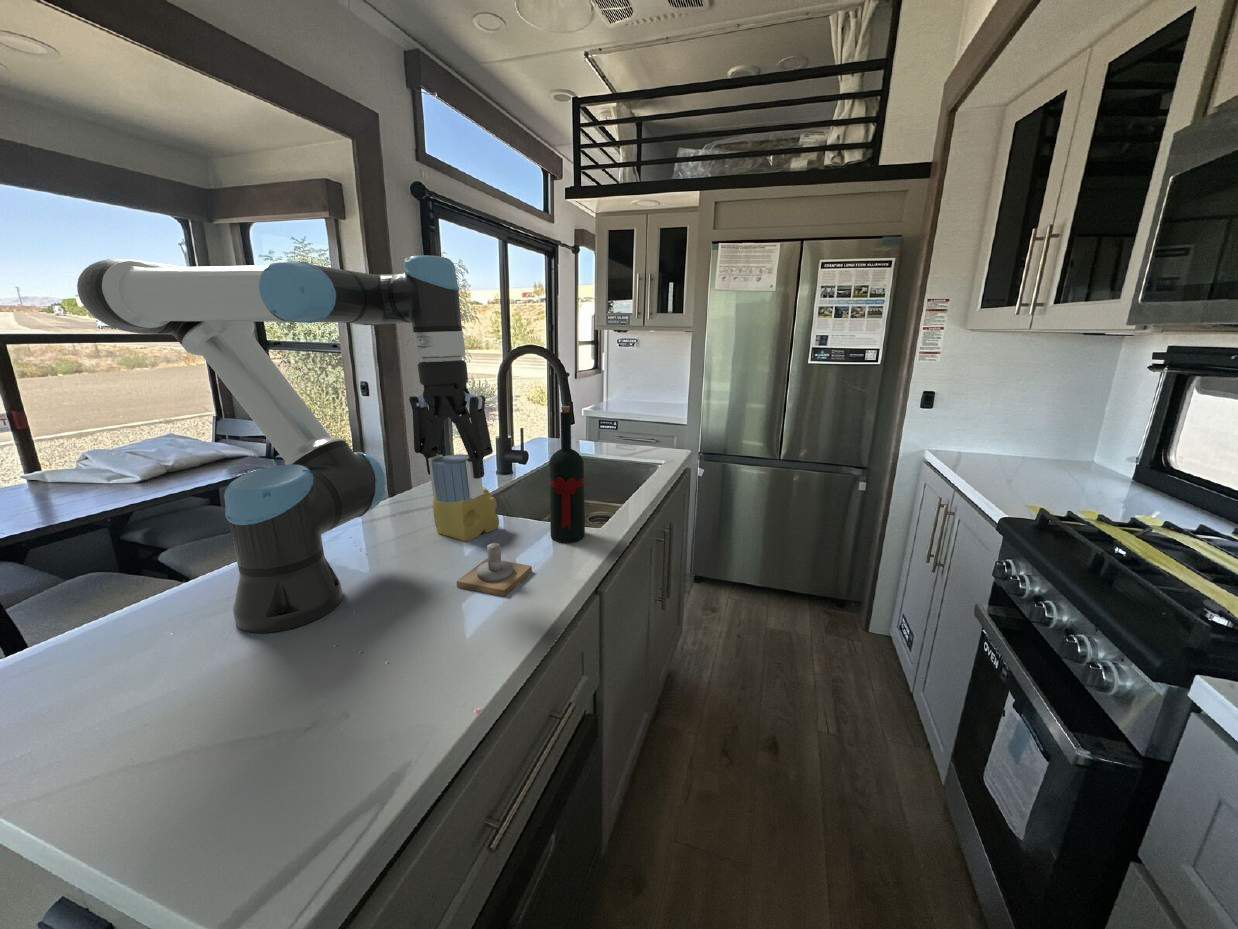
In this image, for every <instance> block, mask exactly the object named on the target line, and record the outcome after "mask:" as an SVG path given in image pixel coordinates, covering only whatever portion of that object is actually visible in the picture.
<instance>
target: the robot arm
mask: <svg viewBox="0 0 1238 929" xmlns="http://www.w3.org/2000/svg"><path fill="white" fill-rule="evenodd" d="M403 264H404V266H403V272H400V273H391V274H390V273H389V274H388V273H387V274H385V273H384V274H383V273H382V274H373V273H367V272H359V271H354V270H353V271H352V270H346V269H341V268H333V267H330V266H329V267H328V266H322V265H316V264H311V263H309V262H306V261H300V260H299V261H298V260H276V261H273V262H271V263H269V264H268V265H267V264H266V265H264V264H263V265H260V264H259V265H230V266H229V265H228V266H227V265H225V266H223V265H220V266H184V265H175V264H168V263H160V262H153V261H147V260H146V261H145V260H138V259H131V258H108V259H103V260H99V261H96V262H94V263H92V264H90V265H88V266H87V267H86V268H85V269H83V270H82V272H81V273H80V274H79V277H78V279H77V285H76V287H77V295H78V297H79V300H80V302H81V303H82V305H83V307H84V308H85V309H86V310H87V311H88V312H89V314H91V315H92V316H93V317H94V318H95V319H97V320H98V321H99V322H101V323H102V324H105V325H107V326H109V327H111V328H113V329H117V330H119V331H123V332H127V333H132V334H138V335H139V334H140V335H172V336H173V337H174V338H175V339H176V340H177V342H178V343H179V344H180V346H182V348H183V349H184V350H185V351H186V352H187V353H188V354H191V355H195V356H201V357H203V359H204V360H205V361H206V363H207V364H208V365H209V366H210V367H211V369H212V370H213V371H214V373H215V374H216V375H217V376H218V378H219V379H220V380H221V381H222V383H223V384H224V386H225V387H226V388H227V389H228V390H229V392H230V393H231V394H232V396H233V397H234V398H235V400H236V401H237V402H238V404H240V406H241V407H242V409H244V411H245V412H246V413H247V414H248V416H249V418H251V420H252V421H253V422H254V424H255V425H256V426H257V428H259V430H260V432H261V433H262V434H263V435H264V437H265V438H266V439H267V440H268V441H269V443H270V445H272V447H273V448H274V449H275V451H277V453H278V454H279V456H281V458H282V459H283V461H284V464H278V465H273V466H271V467H268V468H266V467H265V468H260V469H256V470H253V471H250V472H248V473H246V474H242V475H241V476H239V477H237V478H235V479H234V480H233V481H231V482H230V483H229V484H228V486H226V488H225V490H224V495H223V496H224V504H225V505H224V506H225V510H224V512H225V515H224V516H225V518H226V520H227V521H228V524H229V530H230V535H231V539H232V543H233V544H232V545H233V549H234V553H235V559H236V563H237V566H238V572H239V579H238V583H237V588H236V593H235V601H234V603H233V607H232V608H233V609H232V611H233V612H232V613H233V617H234V621H235V625H236V626H237V628H239V629H240V630H242V631H244V632H249V633H258V634H261V633H263V634H264V633H274V632H280V631H285V630H291V629H295V628H298V627H301V626H303V625H307V624H310V623H311V622H314V621H316V620H318V619H320V618H322V617H324V616H326V615H328V613H330V612H331V611H333V610H334V609H335V608H336V607H337V606H339V604H340V603H341V601H342V599H343V590H342V589H343V588H342V584H341V580H339V578H338V576H337V575H336V573H335V571H334V569H333V568H332V567H331V565H330V563H329V562H328V560H327V559H326V556H325V553H324V552H325V551H324V546H323V539H322V538H323V537H322V535H324V534H325V533H328V532H330V531H332V530H334V529H335V528H338V527H340V526H342V525H345V524H346V523H348V522H350V521H353V520H354V519H357V518H361V517H362V516H364V515H366V514H367V513H369V512H370V511H372V510H373V509H375V508H376V507H378V505H379V504H380V503H381V502H382V500H383V498H384V496H385V493H386V490H385V486H386V484H387V482H386V476H385V473H384V470H383V468H382V466H381V464H380V463H379V461H378V460H377V459H376V458H374V457H373V456H372V455H370V454H369V453H365V452H360V451H356V452H354V450H353V449H352V448H351V447H350V445H349V444H348V443H347V441H346V440H345V439H344V438H343V439H342V438H338V437H332V436H331V434H329V432H328V431H327V430H326V428H324V426H323V425H322V423H321V422H320V420H319V419H317V417H316V415H315V414H314V413H313V412H312V410H311V409H310V408H309V407H308V405H307V404H306V402H305V401H304V400H303V398H301V396H300V395H299V393H298V392H297V391H296V389H294V387H293V386H292V385H291V383H290V382H289V381H288V379H287V378H286V377H285V376H284V374H283V373H282V371H281V370H280V369H279V368H278V366H277V365H276V364H275V362H274V361H273V360H272V359H271V358H270V356H269V355H268V354H267V351H265V350H264V348H263V347H262V346H261V345H260V343H259V342H258V340H257V338H255V337H254V334H253V333H254V331H255V327H256V325H255V323H254V322H263V323H264V322H269V323H271V322H272V323H273V322H274V323H275V322H280V323H281V322H287V323H288V322H289V323H300V324H301V323H304V324H305V323H306V324H307V323H308V324H309V323H329V324H331V323H337V324H338V323H341V324H354V325H360V326H361V325H363V326H378V325H385V324H386V325H389V324H402V323H403V324H404V323H406V324H410V323H411V327H412V333H413V339H414V347H415V353H416V357H417V359H420V362H418V364H417V370H418V371H417V372H418V378H419V383H420V385H422V386H423V390H422V394H419V395H413V396H409V397H408V398H409V399H408V401H409V403H410V407H411V409H412V424H413V425H412V429H413V433H412V434H413V450H414V453H415V454H421V455H422V456H423V457H424V458H425V462H426V464H425V465H426V470H427V474H428V475H430V481H431V482H430V483H431V488H432V489H431V490H432V495H433V496H434V495H436V494H435V486H434V479H433V472H432V464H431V461H432V460H433V459H436V458H439V457H443V454H441V452H442V451H441V450H439V449H440V445H441V444H440V443H441V439H442V435H443V434H442V433H443V428H444V423H445V420H446V419H447V418H449V419H450V421H451V423H453V424H454V425H455V428H456V430H457V433H458V436H460V439H461V441H462V444H463V445H464V448H465V451H466V454H467V455H468V456H469V459H467V461H466V469H467V477H468V486H469V494H470V498H472V499H474V498H476V497H478V496H480V495H482V494H483V487H484V486H483V478H484V477H485V467H484V466H485V465H484V458H485V457H487V456H490V455H492V454H493V452H494V451H493V447H492V446H493V445H492V440H491V435H490V430H489V426H488V421H487V420H488V419H487V417H486V416H487V415H486V412H485V409H486V408H485V406H486V398H485V396H484V395H474V394H470V392H469V389H468V387H467V384H468V381H469V375H468V367H467V366H468V365H467V362H466V361H465V360H464V359H463V357H465V356H466V347H465V345H466V344H465V339H464V331H463V326H462V314H461V313H462V312H461V306H460V305H461V304H460V303H461V302H460V293H459V292H460V291H459V290H460V287H459V282H458V278H457V272H456V271H457V270H456V266H455V263H454V262H453V261H452V260H451V259H449V258H448V257H444V256H439V255H427V254H426V255H422V254H421V255H413V256H412V255H411V256H409V257H406V258H405V259H404V261H403Z"/></svg>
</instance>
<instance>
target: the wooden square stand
mask: <svg viewBox="0 0 1238 929" xmlns="http://www.w3.org/2000/svg"><path fill="white" fill-rule="evenodd" d="M486 550H487V558H486V559H484V560H483V561H481V562H480V563H479V564H478V565H476V566H475V567H473V568H472V569H471V570H469V571H468V572H467V573H466V574H464V575H462V576H461V577H460V578H459V579H458V580H456V587H457V588H460V589H464V590H465V589H466V590H470V591H476V592H480V593H486V594H489V595H490V594H491V595H494V596H495V595H496V596H500V597H506V596H507V595H508V594H509V593H510V592H511V591H513V589H515V587H517V586H518V585H519V584H520V583H521V582H523V580H525V579H526V577H528V576H529V575H530V574H531V573H532V572H533V571H532V570H533V567H532V565H529V564H525V563H524V564H523V563H517V562H511V561H505V560H502V554H501V553H502V551H501V544H500V543H496V542H495V543H494V542H492V543H490V544H488V545H486Z"/></svg>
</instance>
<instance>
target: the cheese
mask: <svg viewBox="0 0 1238 929" xmlns="http://www.w3.org/2000/svg"><path fill="white" fill-rule="evenodd" d="M497 505H498V504H497V500H496V498H495V497H493V495H491V493H490V491H489V489H487V488H486V487H484V486H483V494H482V495H480V496H478V497H476V498H474V499H468V500H464V501H458V502H441V501H438V500H436V495H434V494H433V501H432V511H433V512H432V513H433V520H434V525H435V528H436V533H438V534H441V535H443V536H447V537H450V538H453V539H456V540H459V541H462V542H469V541H472V540H473V539H476V538H478V537H479V536H480V535H481V533H490V532H492V531H495V530H497V529H499V526H500V519H499V515H498V514H497V512H496V509H497V508H498V506H497Z"/></svg>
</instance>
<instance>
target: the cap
mask: <svg viewBox="0 0 1238 929" xmlns="http://www.w3.org/2000/svg"><path fill="white" fill-rule="evenodd" d="M467 459H469V456H468V454H467V453H466V454H465V453H463V454H450V455H449V454H448V455H444V456H443V457H439V458H436V459H433V460H432V461H431V464H432V472H433V479H434V486H435V494H436V500H438V501H441V502H458V501H464V500H468V499H472V498H470V494H469V486H468V477H467V469H466V461H467Z"/></svg>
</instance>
